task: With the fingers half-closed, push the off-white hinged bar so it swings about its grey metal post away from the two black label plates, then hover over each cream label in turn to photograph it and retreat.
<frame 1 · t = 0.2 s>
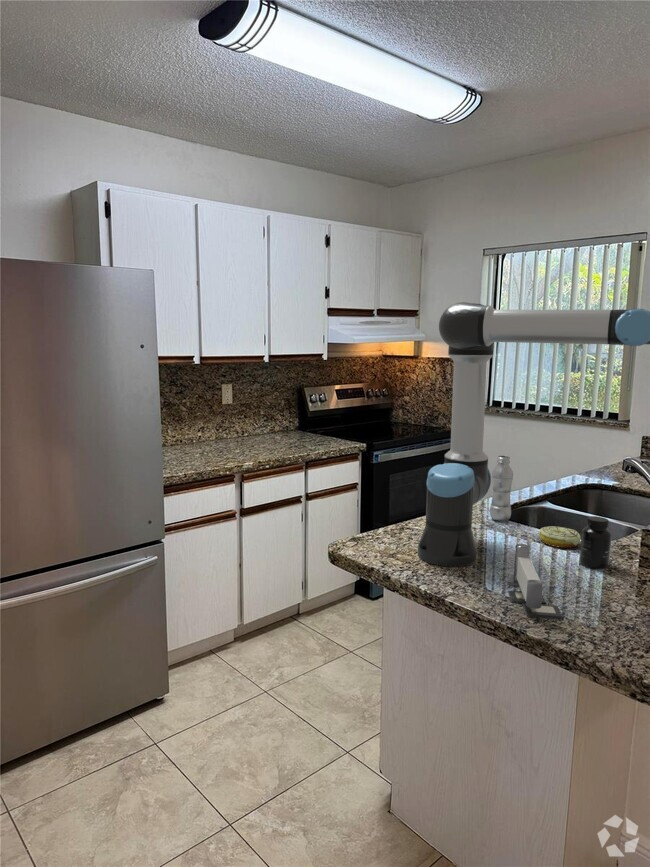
label plate a: (526, 598, 132), on the countertop
pivot post: (520, 582, 140), on the countertop
label plate b: (542, 612, 126), on the countertop
swing bar: (528, 581, 130), point 5 cm above the countertop, hinge at -70.0°
plastic bottle: (499, 520, 187), on the countertop
decorated donut: (559, 543, 168), on the countertop
supplement bottle: (593, 565, 152), on the countertop
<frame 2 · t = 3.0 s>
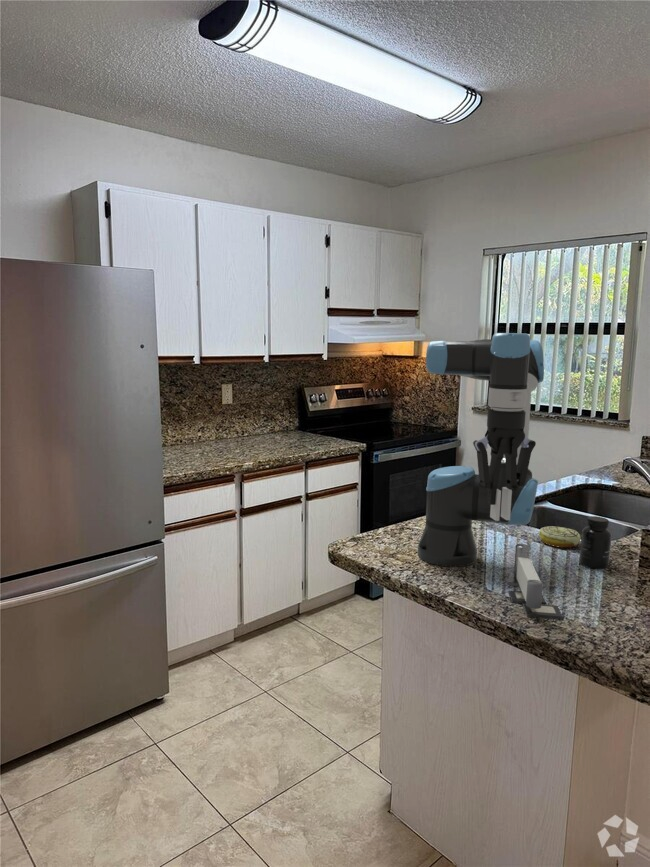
hand: (499, 518, 128), 18 cm above the countertop, fingers closed
nothing on the countertop moved.
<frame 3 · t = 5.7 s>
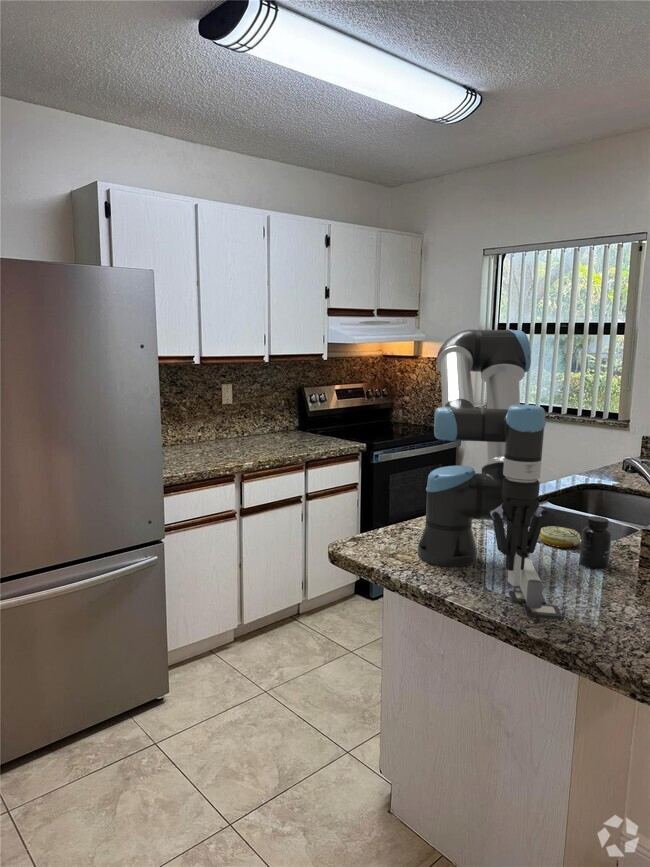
hand: (513, 583, 132), 3 cm above the countertop, fingers closed
swing bar: (529, 581, 130), point 5 cm above the countertop, hinge at -69.7°, touching gripper
everything else where it was.
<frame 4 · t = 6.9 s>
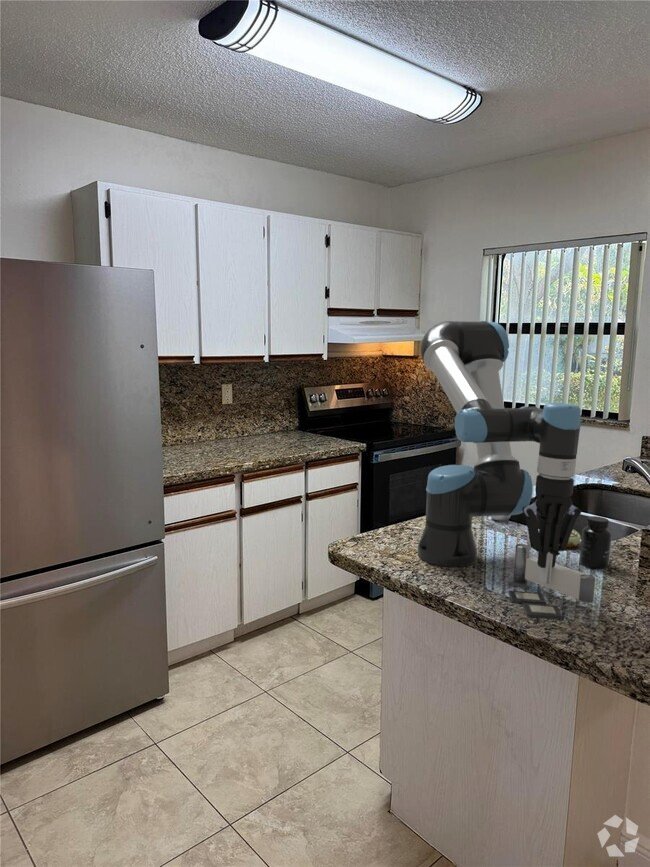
hand: (544, 581, 132), 4 cm above the countertop, fingers closed
swing bar: (559, 578, 132), point 5 cm above the countertop, hinge at -24.2°, touching gripper
everything else where it was.
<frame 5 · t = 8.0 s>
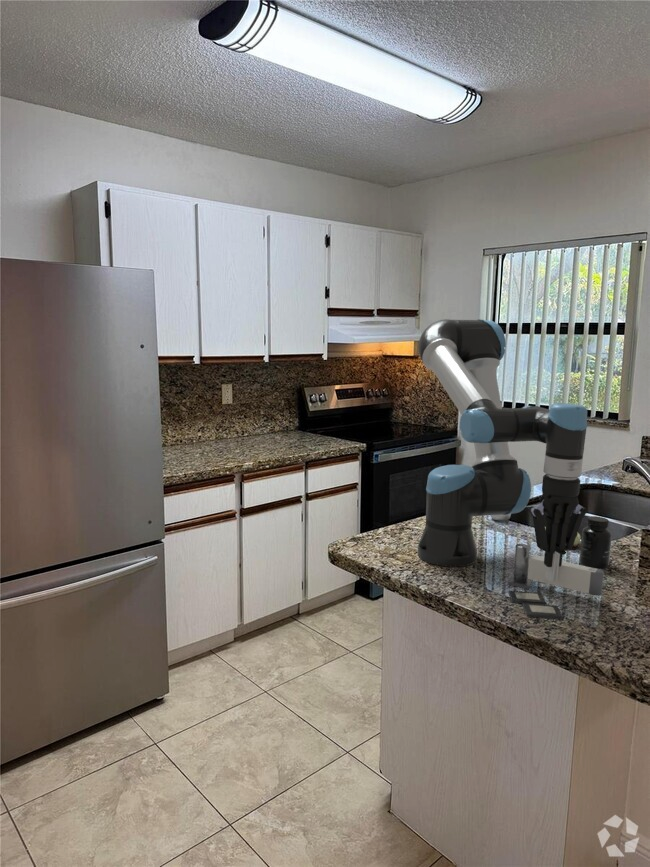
hand: (551, 579, 133), 4 cm above the countertop, fingers closed
swing bar: (565, 574, 134), point 5 cm above the countertop, hinge at -7.0°, touching gripper
everything else where it was.
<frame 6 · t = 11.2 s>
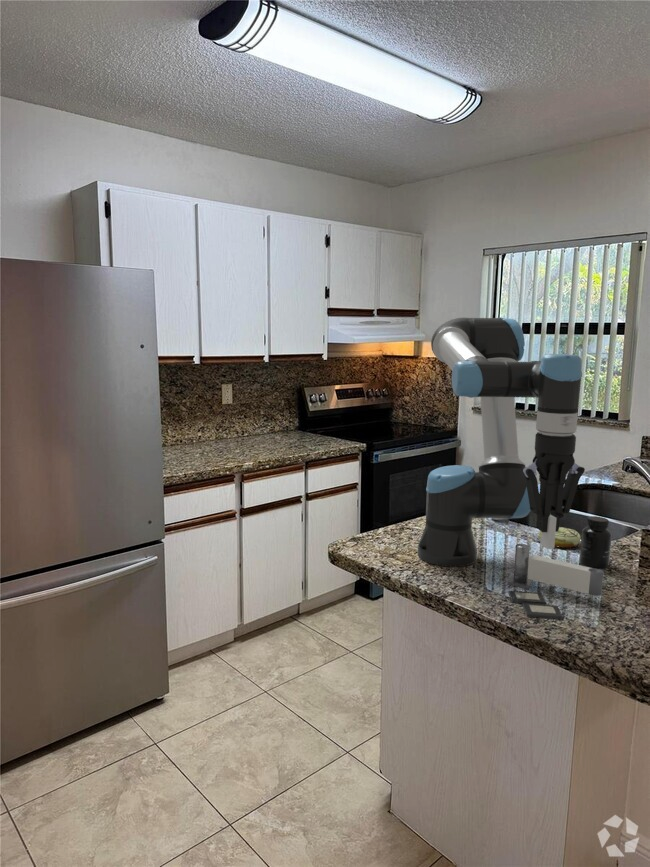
hand: (547, 546, 123), 14 cm above the countertop, fingers closed
swing bar: (565, 574, 134), point 5 cm above the countertop, hinge at -7.6°
everything else where it was.
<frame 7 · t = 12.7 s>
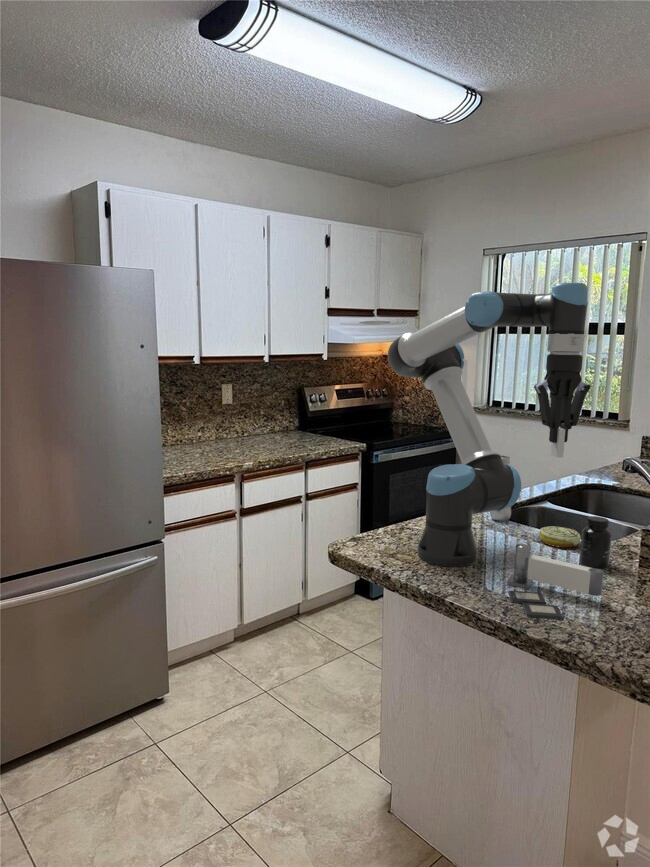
hand: (556, 456, 140), 29 cm above the countertop, fingers closed
nothing on the countertop moved.
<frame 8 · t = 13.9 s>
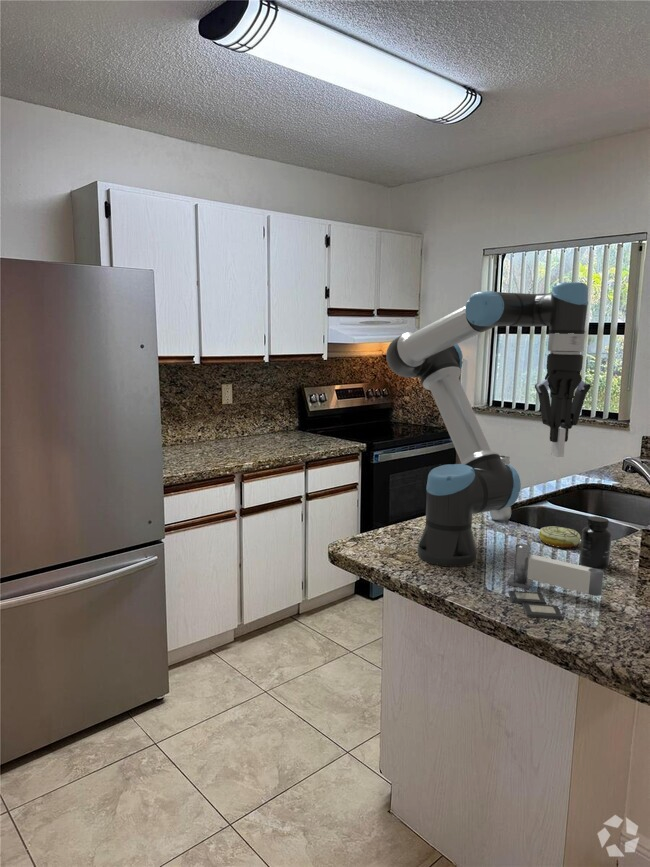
hand: (557, 455, 140), 29 cm above the countertop, fingers closed
nothing on the countertop moved.
at the end: swing bar at -8° (first picture: -70°) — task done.
